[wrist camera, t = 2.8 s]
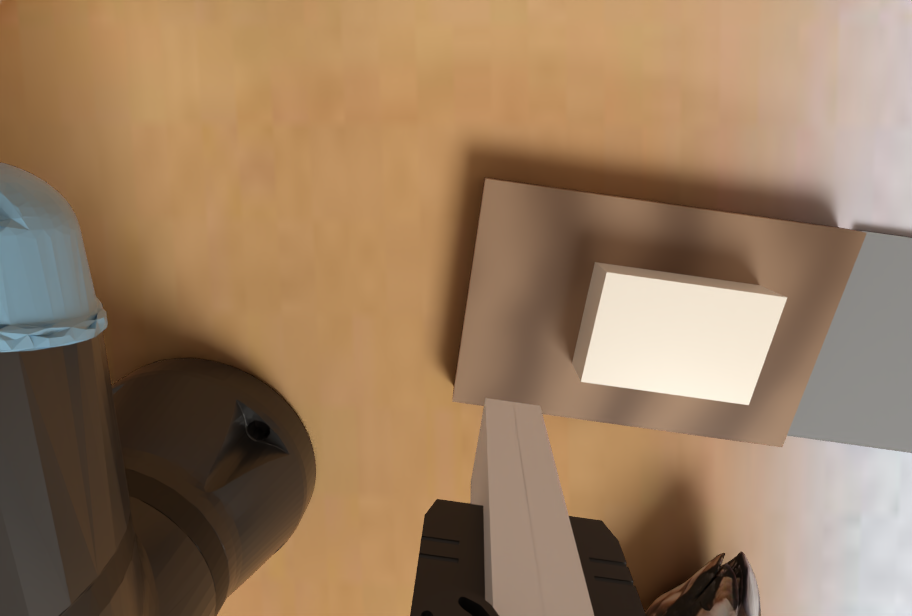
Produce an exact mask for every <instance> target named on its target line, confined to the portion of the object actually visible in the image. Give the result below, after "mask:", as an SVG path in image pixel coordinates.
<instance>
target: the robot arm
mask: <svg viewBox="0 0 912 616" xmlns="http://www.w3.org/2000/svg"><path fill="white" fill-rule="evenodd" d="M107 326H108V322H107V312H106V311H105V310H104V309H103V306H102V303H101V302H100V300H99V299H98V298H97V297H96V295H95V291H94V286H93V282H92V277H91V273H90V269H89V264H88V260H87V256H86V251H85V247H84V243H83V238H82V234H81V230H80V225H79V223H78V220H77V217H76V215H75V213H74V211H73V209H72V207H71V206H70V204H69V203H68V202H67V200H66V199H65V198H64V197H63V196H62V195H61V194H60V193H59V192H58V191H57V190H55V189H54V188H53V187H52V186H50V185H49V184H48V183H47V182H45V181H43V180H42V179H40V178H38V177H37V176H35V175H33V174H31V173H29V172H27V171H25V170H22V169H20V168H18V167H15V166H12V165H8V164H5V163H1V162H0V616H217V614H218V612H219V610H220V609H221V607H222V605H223V603H224V602H225V600H226V598H227V597H228V596H230V595H231V594H232V593H233V592H234V591H235V590H236V589H237V588H238V587H239V586H240V585H242V584H243V583H244V582H245V581H246V580H247V579H248V578H249V577H250V576H251V575H252V574H253V573H254V572H255V571H257V570H258V569H259V568H260V567H261V566H262V565H263V564H264V563H265V562H266V561H267V560H268V559H269V558H270V557H271V556H272V555H273V554H275V553H276V552H277V551H278V550H279V549H280V548H281V547H282V546H283V545H284V544H285V543H286V542H287V541H288V539H289V538H290V537H291V535H292V534H293V533H294V531H295V529H296V528H297V526H298V524H299V522H300V520H301V518H302V516H303V514H304V512H305V510H306V508H307V506H308V504H309V502H310V499H311V497H312V494H313V490H314V485H315V478H316V464H315V456H314V452H313V448H312V444H311V441H310V439H309V436H308V434H307V432H306V430H305V428H304V426H303V424H302V423H301V421H300V419H299V418H298V416H297V415H296V414H295V412H294V411H293V410H292V408H291V407H290V406H289V405H288V404H287V403H286V402H285V401H284V400H283V399H282V398H281V397H280V396H279V395H278V394H277V393H276V392H275V391H274V390H272V389H271V388H270V387H268V386H267V385H266V384H264V383H263V382H261V381H260V380H258V379H257V378H255V377H253V376H251V375H249V374H248V373H246V372H243V371H241V370H239V369H237V368H234V367H231V366H229V365H225V364H222V363H218V362H214V361H209V360H203V359H192V358H179V359H169V360H163V361H159V362H155V363H152V364H149V365H146V366H144V367H141V368H139V369H137V370H135V371H134V372H132V373H130V374H129V375H127V376H126V377H124V378H122V379H121V380H119V381H118V382H116V383H114V384H113V385H111V380H110V374H109V368H108V362H107V356H106V349H105V343H104V337H103V330H105V329H106V328H107ZM410 616H646V614H645V611H644V609H643V606H642V603H641V601H640V598H639V595H638V593H637V590H636V587H635V586H633V579H632V576H631V574H630V571H629V568H628V567H626V560H625V558H624V555H623V552H622V549H621V547H620V544H619V541H618V540H617V539H616V537H615V536H614V535H613V534H612V533H611V531H610V530H609V529H608V528H607V527H606V525H605V524H604V523H603V522H602V521H600V520H593V519H586V518H579V517H572V516H568V512H567V508H566V504H565V500H564V496H563V492H562V489H561V485H560V481H559V477H558V473H557V469H556V465H555V461H554V458H553V454H552V450H551V446H550V442H549V438H548V434H547V430H546V427H545V423H544V419H543V415H542V411H541V407H540V406H538V405H531V404H524V403H517V402H510V401H503V400H496V399H489V398H485V403H484V409H483V415H482V421H481V427H480V432H479V438H478V444H477V450H476V456H475V462H474V467H473V473H472V479H471V504H468V503H461V502H454V501H447V500H440V499H437V500H436V501H435V502H434V504H433V505H432V506H431V508H430V509H429V510H428V512H427V513H426V514H425V518H424V525H423V531H422V538H421V545H420V552H419V559H418V566H417V573H416V580H415V586H414V593H413V600H412V607H411V614H410Z"/></svg>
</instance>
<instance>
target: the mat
mask: <svg viewBox="0 0 912 616" xmlns="http://www.w3.org/2000/svg"><path fill="white" fill-rule="evenodd" d="M856 231H861V230H856ZM861 232H866V233H867V234H866V236H865V239H864V241H863V244H862V247H861V249H860V252H859V254H858V257H857V259H856V262H855V264H854V267H853V269H852V272H851V274H850V277H849V279H848V282H847V284H846V287H845V290H844V292H843V295H842V297H841V300H840V302H839V305H838V307H837V310H836V312H835V315H834V317H833V320H832V322H831V325H830V328H829V330H828V333H827V335H826V338H825V340H824V343H823V345H822V348H821V350H820V353H819V355H818V358H817V360H816V363H815V365H814V368H813V371H812V373H811V376H810V378H809V381H808V383H807V386H806V388H805V391H804V393H803V396H802V398H801V401H800V403H799V406H798V409H797V411H796V414H795V416H794V419H793V421H792V424H791V426H790V429H789V431H788V434H787V436H794V437H801V438H808V439H815V440H823V441H830V442H837V443H844V444H851V445H859V446H866V447H873V448H880V449H887V450H895V451H902V452H909V453H912V238H910V237H903V236H896V235H889V234H882V233H875V232H868V231H861Z"/></svg>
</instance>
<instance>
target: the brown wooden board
mask: <svg viewBox="0 0 912 616" xmlns="http://www.w3.org/2000/svg"><path fill="white" fill-rule="evenodd" d="M866 234H867V233H866V232H861V231H856V230H850V229H845V228H839V227H833V226H826V225H818V224H811V223H804V222H797V221H790V220H783V219H776V218H769V217H762V216H755V215H748V214H741V213H734V212H727V211H719V210H712V209H705V208H698V207H691V206H684V205H677V204H670V203H663V202H656V201H649V200H642V199H635V198H628V197H620V196H613V195H606V194H599V193H592V192H585V191H578V190H571V189H564V188H557V187H550V186H543V185H536V184H529V183H522V182H514V181H507V180H500V179H493V178H486V177H485V179H484V186H483V192H482V199H481V206H480V213H479V219H478V226H477V233H476V240H475V246H474V253H473V260H472V267H471V273H470V280H469V287H468V294H467V301H466V307H465V314H464V321H463V328H462V334H461V341H460V348H459V355H458V361H457V368H456V375H455V382H454V390H453V401H452V402H459V403H466V404H474V405H481V406H484V403H485V398H489V399H496V400H503V401H510V402H517V403H524V404H531V405H538V406H540V407H541V411H542V414H546V415H553V416H560V417H567V418H575V419H582V420H589V421H596V422H603V423H611V424H618V425H625V426H632V427H639V428H647V429H654V430H661V431H668V432H676V433H683V434H690V435H697V436H704V437H712V438H719V439H726V440H733V441H740V442H748V443H755V444H762V445H769V446H776V447H782V446H783V444H784V441H785V439H786V436H787V434H788V431H789V429H790V426H791V424H792V421H793V419H794V416H795V414H796V411H797V409H798V406H799V403H800V401H801V398H802V396H803V393H804V391H805V388H806V386H807V383H808V381H809V378H810V376H811V373H812V371H813V368H814V365H815V363H816V360H817V358H818V355H819V353H820V350H821V348H822V345H823V343H824V340H825V338H826V335H827V333H828V330H829V328H830V325H831V322H832V320H833V317H834V315H835V312H836V310H837V307H838V305H839V302H840V300H841V297H842V295H843V292H844V290H845V287H846V284H847V282H848V279H849V277H850V274H851V272H852V269H853V267H854V264H855V262H856V259H857V257H858V254H859V252H860V249H861V247H862V244H863V241H864V239H865V236H866ZM595 262H598V263H605V264H612V265H619V266H626V267H633V268H640V269H647V270H655V271H662V272H669V273H676V274H683V275H690V276H697V277H704V278H711V279H719V280H726V281H733V282H740V283H747V284H754V285H760V286H762V287H765V288H767V289H769V290H771V291H774V292H776V293H778V294H780V295H783V296H785V297H787V300H786V303H785V306H784V308H783V311H782V314H781V317H780V319H779V322H778V325H777V328H776V331H775V333H774V336H773V339H772V342H771V344H770V347H769V350H768V353H767V356H766V358H765V361H764V364H763V367H762V370H761V372H760V375H759V378H758V381H757V383H756V386H755V389H754V392H753V395H752V397H751V400H750V403H749V405H744V404H737V403H729V402H722V401H715V400H708V399H701V398H694V397H686V396H679V395H672V394H665V393H658V392H650V391H643V390H636V389H629V388H622V387H615V386H607V385H600V384H593V383H586V382H581V381H580V379H579V377H578V375H577V373H576V371H575V369H574V367H573V364H572V361H573V357H574V352H575V348H576V343H577V339H578V335H579V330H580V326H581V321H582V317H583V312H584V308H585V304H586V299H587V295H588V290H589V286H590V282H591V277H592V273H593V268H594V264H595Z"/></svg>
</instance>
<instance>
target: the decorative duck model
mask: <svg viewBox="0 0 912 616" xmlns="http://www.w3.org/2000/svg"><path fill="white" fill-rule="evenodd" d="M724 556H725V553H722V554H719V555H718V556H716V557H715V558H714V559H712V560H711V561H710V562H709V563H707V564H706V565H705V566H704V567H702V568H701V569H700V570H699V571H697V572H696V573H695V574H694V575H693V576H692V577H691V578H690V579H688V580H687V581H686V582H685V583H683V584H681V585H679V586H678V587H676V588H674V589H672V590H670V591H669V592H667V593H665V594H663V595H661V596H660V597H658V598H657V599H656V600H655V601H654V602H653V603H652V604H651V605H650V607H649V608H648V609H647V611H646V613H645V614H646V616H761V609H760V596H759V590H758V585H757V581H756V578H755V575H754V573H753V570H752V568H751V565H750V564H749V562H748V560H747V558H746V556H745V554H744V553H743V552H740V553H739V554H738V555H737V556H736V557H735V558H734V559H732V560H731V561H729V562H728V563H726V564H724V565H722V566H721V564H722V561H723V558H724Z"/></svg>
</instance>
